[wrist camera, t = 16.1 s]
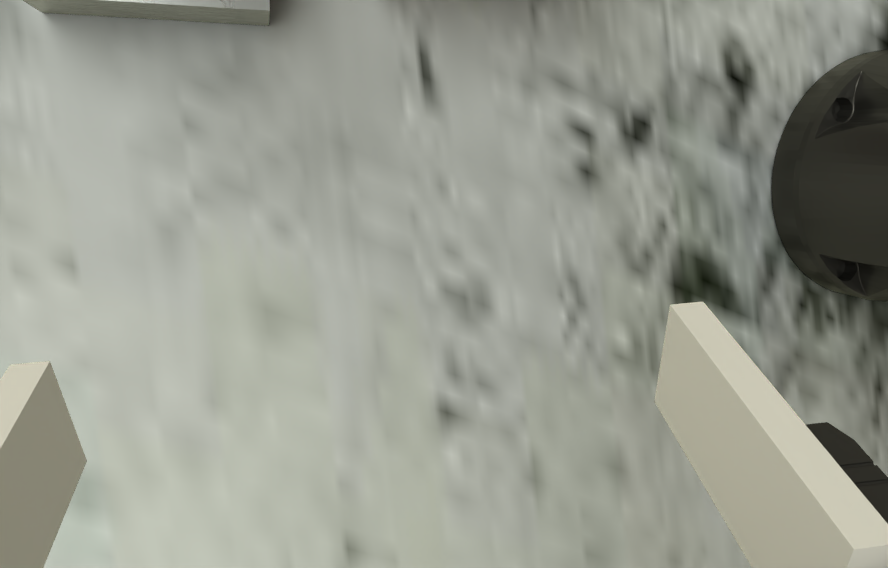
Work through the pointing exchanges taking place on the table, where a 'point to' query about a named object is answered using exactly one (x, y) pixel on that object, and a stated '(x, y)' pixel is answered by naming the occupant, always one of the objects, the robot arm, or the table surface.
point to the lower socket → (165, 9)
